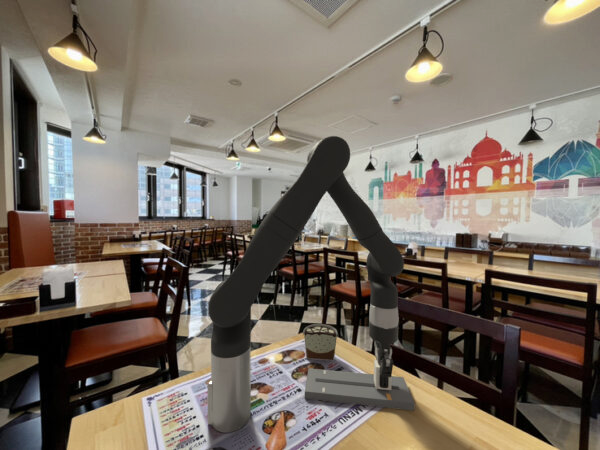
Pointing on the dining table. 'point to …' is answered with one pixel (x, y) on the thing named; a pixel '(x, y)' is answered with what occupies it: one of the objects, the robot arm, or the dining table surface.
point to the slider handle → (377, 376)
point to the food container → (320, 341)
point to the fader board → (356, 389)
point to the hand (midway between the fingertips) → (382, 381)
